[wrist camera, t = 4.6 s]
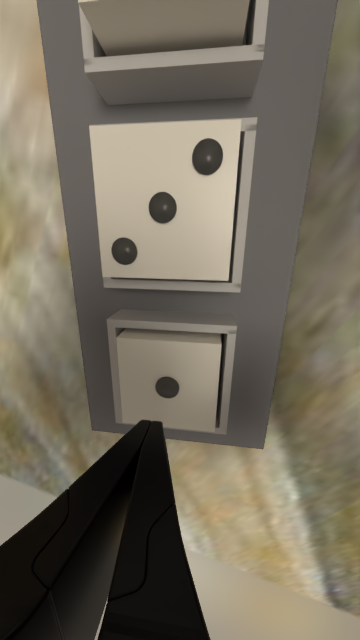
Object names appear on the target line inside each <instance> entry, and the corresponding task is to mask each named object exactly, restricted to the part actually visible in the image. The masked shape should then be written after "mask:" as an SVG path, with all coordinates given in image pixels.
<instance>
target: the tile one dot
mask: <svg viewBox="0 0 360 640" xmlns="http://www.w3.org/2000/svg"><path fill="white" fill-rule="evenodd" d="M116 343H117V356H118V369H119V382H120V395H121V408H122V422H123V423H132V424H137V423H138V422H139V421H140V420H151V421H161V422H162V423H163V427H170V428H179V429H189V430H198V431H208V432H215V422H216V409H217V396H218V383H219V370H220V358H221V345H222V344H221V337H220V333H207V332H190V331H172V330H154V329H137V328H126V329H125V330H124V331H123V332H122V333H121V334H120V335H119V336H118V337H116Z"/></svg>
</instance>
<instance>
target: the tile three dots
mask: <svg viewBox="0 0 360 640" xmlns="http://www.w3.org/2000/svg"><path fill="white" fill-rule="evenodd" d="M89 130H90V142H91V153H92V164H93V176H94V187H95V198H96V209H97V221H98V232H99V243H100V255H101V266H102V277H123V278H154V279H186V280H218V281H228V280H229V268H230V256H231V243H232V231H233V218H234V206H235V194H236V181H237V169H238V157H239V144H240V132H241V119H236V120H214V121H192V122H171V123H149V124H127V125H105V126H89Z"/></svg>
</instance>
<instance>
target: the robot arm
mask: <svg viewBox="0 0 360 640" xmlns="http://www.w3.org/2000/svg"><path fill="white" fill-rule="evenodd" d="M107 598H108V601H107ZM106 601H107V602H108V603H107V605H106V609H105V614H104V617H103V622H102V626H101V629H100V633H99V636H98V640H210V637H209V634H208V630H207V627H206V624H205V620H204V617H203V613H202V610H201V606H200V603H199V599H198V596H197V592H196V588H195V585H194V581H193V578H192V574H191V571H190V568H189V564H188V561H187V557H186V553H185V549H184V545H183V541H182V537H181V531H180V526H179V521H178V516H177V509H176V505H175V497H174V491H173V485H172V479H171V472H170V466H169V460H168V454H167V447H166V441H165V435H164V429H163V423H162V422H161V421H151V420H140V421H139V422H138V423H137V424H136V425H135V426H134V427H133V428H132V429H131V430H130V431H129V432H127V433H126V434H125V435H124V436H123V437H122V438H121V439H120V440H119V441H118V442H117V443H116V444H115V445H114V446H112V447H111V448H110V449H109V450H108V451H107V452H106V453H105V454H104V455H103V456H102V457H101V458H100V459H99V460H97V461H96V462H95V463H94V464H93V465H92V466H91V467H90V468H89V469H88V470H87V471H86V472H85V473H84V474H82V475H81V476H80V477H79V478H78V479H77V480H76V481H75V482H74V483H73V484H72V485H71V486H70V487H69V489H66V490H65V491H64V492H63V493H62V494H61V495H60V496H59V497H58V498H57V499H55V500H54V501H53V502H52V503H51V504H50V505H49V506H48V507H47V508H45V509H44V510H43V511H42V512H41V513H40V514H39V515H37V516H36V517H35V518H34V519H33V520H32V521H30V522H29V523H28V524H27V525H25V526H24V527H23V528H22V529H21V530H19V531H18V532H17V533H16V534H14V535H13V536H12V537H11V538H9V539H8V540H7V541H6V542H5V543H3V544H2V545H1V546H0V640H94V639H95V636H96V632H97V629H98V626H99V623H100V620H101V616H102V614H103V611H104V607H105V604H106Z"/></svg>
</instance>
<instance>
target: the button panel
mask: <svg viewBox="0 0 360 640" xmlns="http://www.w3.org/2000/svg"><path fill="white" fill-rule="evenodd" d="M337 2H338V0H250V1H249V7H248V14H247V20H246V26H245V32H244V38H243V44H242V46H232V47H219V48H207V49H195V50H182V51H170V52H158V53H145V54H133V55H121V56H108V57H107V56H106V54H105V52H104V50H103V49H102V47H101V45H100V43H99V41H98V39H97V37H96V35H95V33H94V32H93V30H92V28H91V26H90V24H89V22H88V20H87V18H86V16H85V15H84V13H83V11H82V9H81V7H80V5H79V3H78V0H37V7H38V15H39V22H40V30H41V38H42V46H43V53H44V61H45V69H46V77H47V84H48V92H49V100H50V108H51V115H52V123H53V131H54V139H55V146H56V154H57V162H58V170H59V177H60V185H61V193H62V201H63V208H64V216H65V224H66V232H67V239H68V247H69V255H70V263H71V270H72V278H73V286H74V294H75V301H76V309H77V317H78V325H79V332H80V340H81V348H82V356H83V363H84V371H85V379H86V387H87V394H88V402H89V410H90V418H91V425H92V430H94V431H103V432H112V433H121V434H126V433H127V432H129V431H130V430H131V429H132V428H133V427H134V426H135V425H136V424H132V423H123V422H122V408H121V395H120V382H119V369H118V356H117V343H116V337H118V336H119V335H120V334H121V333H122V332H123V331H124V330H125V329H126V328H137V329H154V330H172V331H190V332H207V333H220V337H221V344H222V345H221V358H220V370H219V383H218V396H217V409H216V422H215V432H208V431H198V430H189V429H179V428H170V427H163V429H164V435H165V438H167V439H176V440H185V441H194V442H203V443H212V444H221V445H230V446H239V447H248V448H257V449H264V443H265V437H266V431H267V425H268V419H269V413H270V407H271V401H272V395H273V389H274V383H275V376H276V370H277V364H278V358H279V352H280V346H281V340H282V334H283V328H284V322H285V316H286V310H287V304H288V298H289V292H290V286H291V280H292V274H293V268H294V262H295V256H296V250H297V244H298V238H299V232H300V226H301V219H302V213H303V207H304V201H305V195H306V189H307V183H308V177H309V171H310V165H311V159H312V153H313V147H314V141H315V135H316V129H317V123H318V117H319V111H320V105H321V99H322V93H323V87H324V81H325V75H326V69H327V62H328V56H329V50H330V44H331V38H332V32H333V26H334V20H335V14H336V8H337ZM236 119H241V132H240V144H239V157H238V169H237V181H236V194H235V206H234V218H233V231H232V243H231V256H230V268H229V280H228V281H218V280H186V279H154V278H123V277H102V266H101V255H100V243H99V232H98V221H97V209H96V198H95V187H94V176H93V164H92V153H91V142H90V130H89V126H105V125H127V124H149V123H171V122H192V121H214V120H236Z"/></svg>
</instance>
